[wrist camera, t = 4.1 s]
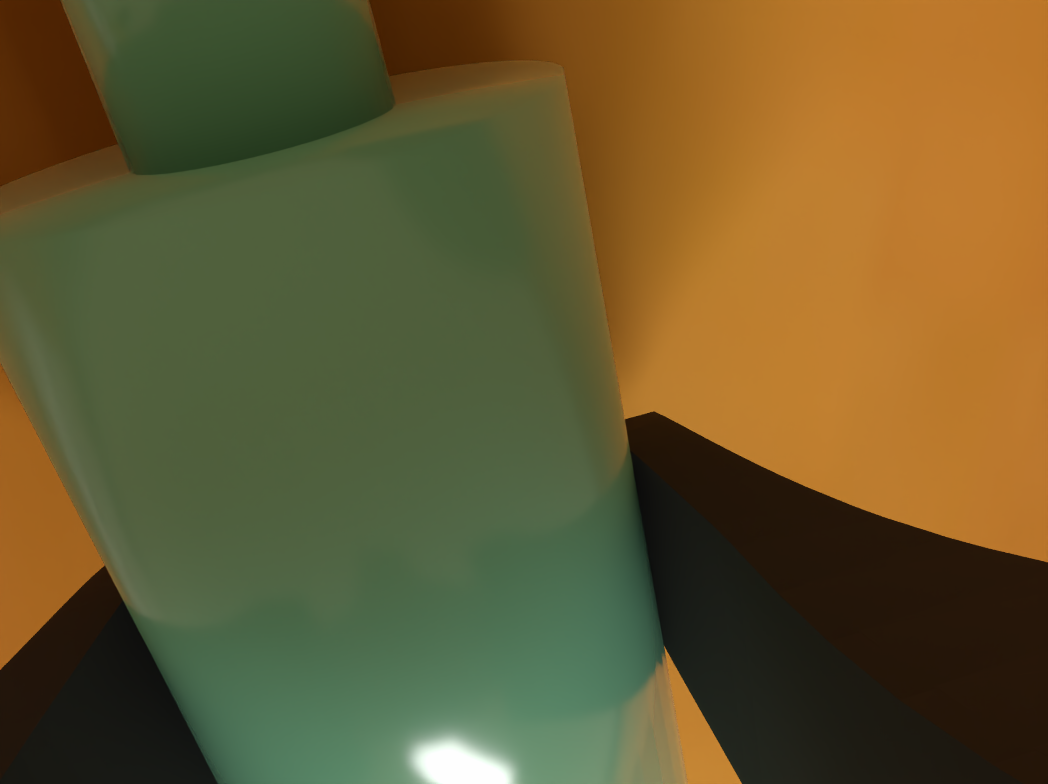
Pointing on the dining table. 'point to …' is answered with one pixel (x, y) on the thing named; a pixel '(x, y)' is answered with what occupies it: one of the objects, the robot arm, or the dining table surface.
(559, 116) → the green bottle
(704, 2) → the dining table surface
